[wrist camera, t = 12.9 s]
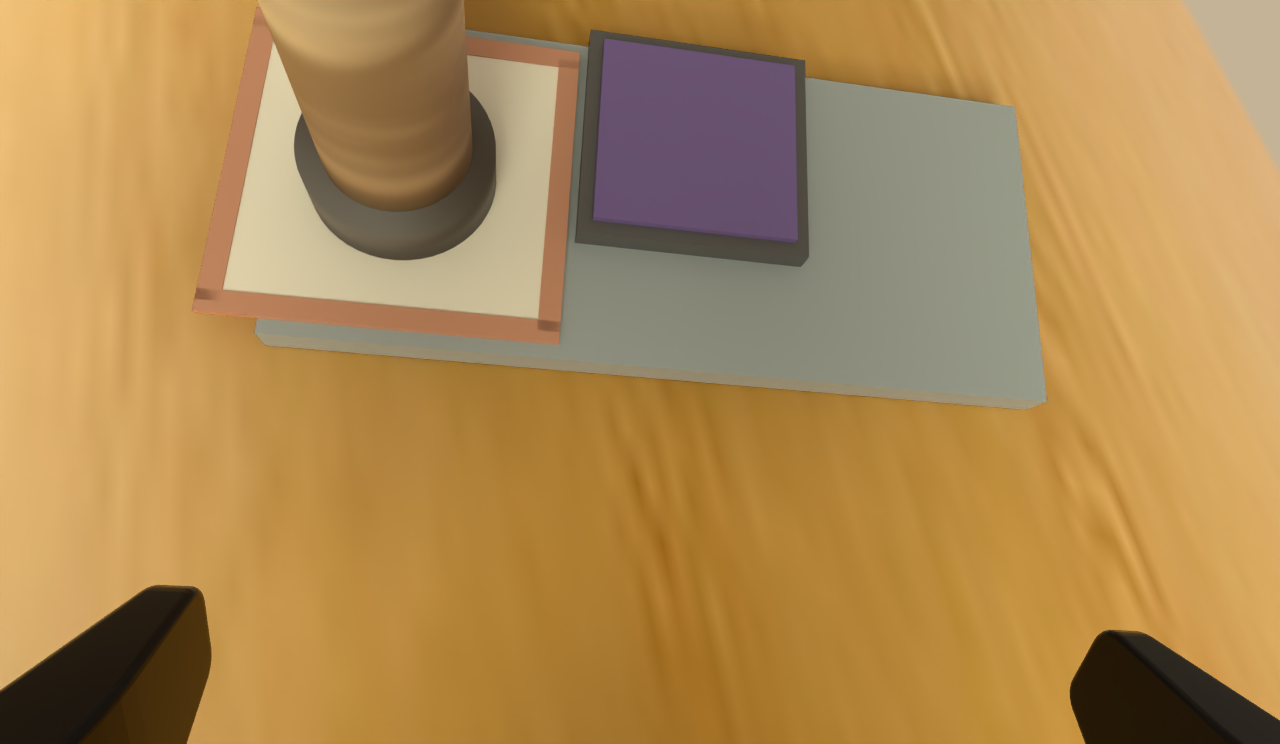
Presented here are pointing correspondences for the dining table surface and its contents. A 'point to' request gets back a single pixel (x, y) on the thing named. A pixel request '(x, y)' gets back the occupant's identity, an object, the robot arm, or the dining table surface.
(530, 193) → the stamp board
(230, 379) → the dining table surface
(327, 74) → the stamp
